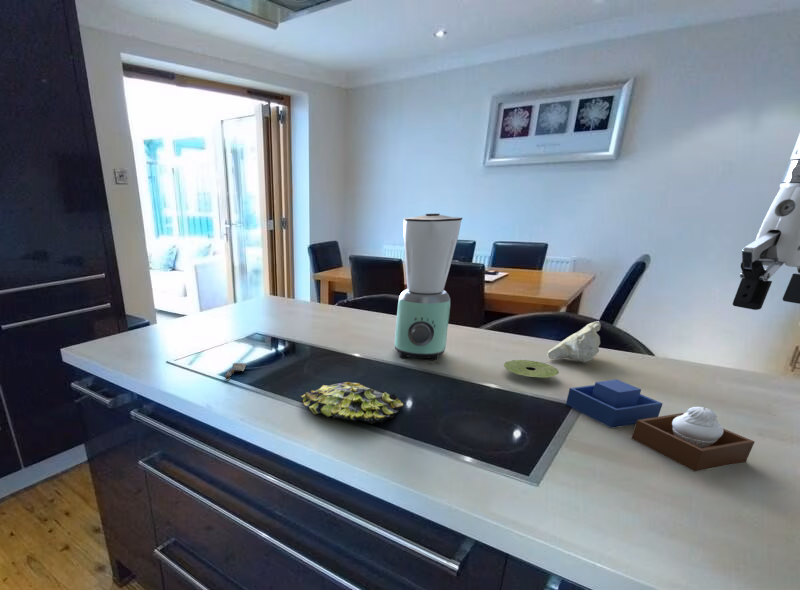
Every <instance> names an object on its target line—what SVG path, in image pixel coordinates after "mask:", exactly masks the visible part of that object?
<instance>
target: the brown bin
mask: <svg viewBox="0 0 800 590" xmlns="http://www.w3.org/2000/svg"><path fill="white" fill-rule="evenodd" d="M684 413H685V412H680V413H675V414H673V413H672V414H667V415H660V416H658V417H654V418H647V419H641V420H637V422H636V424H634V425H635V426H634V429H633V432H632V435H631V438H630V439H631V440H633V441H635V442H637V443H639V444H640V445H642V446H644V447H647V448H649V449H651V450H653V451H654V452H656V453H658V454H660V455H662V456H664V457H666V458H667V459H669V460H672V461H673V462H675V463H677V464H678V465H679V464H680V465H681V466H683V467H685V468H687V469H689V470H691V471H693V472H698V471H704V470H709V469H715V468H720V467H725V466H730V465H735V464H740V463H745V462H747V460H748V458H749V456H750V453H751V451H752V449H753V448H754V445H755V443H756V441H754V440H752V439H749V438H747V437H744V436H742V435H740V434H737V433H736V432H733V431H730V430H728V429H726V428H723V431H724V432H723V435H722V436H721V437H720V438H719V439H717V441H716V442H714V443H713V444H711V445H710V446H708V447H707V448H702V449H701V448H699V447H697V446H695V445H693V444H691V443H689V442H686V441H684V440H682V439H680V438H678V437H676V436H674V433H673V430H672V428H673V426H672V421H673V419H674V418H676V417H678V416H681V415H683V414H684Z"/></svg>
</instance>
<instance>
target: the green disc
mask: <svg viewBox="0 0 800 590" xmlns="http://www.w3.org/2000/svg"><path fill="white" fill-rule="evenodd" d="M503 367H504V368H505V370H507V371H509V372H511V373H513V374H516V375H519V376H524V377H528V378H530V377H531V378H553V377H556V376H557V375H559V373H560V371H559V369H558V368H556V367H555V366H552V365H550V364H548V363H546V362H541V361H535V360H528V359H527V360H526V359H514V360H508V361H505V362H504V364H503Z"/></svg>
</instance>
